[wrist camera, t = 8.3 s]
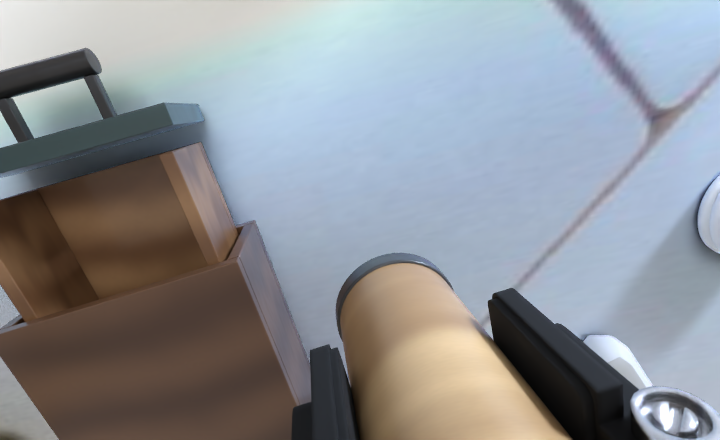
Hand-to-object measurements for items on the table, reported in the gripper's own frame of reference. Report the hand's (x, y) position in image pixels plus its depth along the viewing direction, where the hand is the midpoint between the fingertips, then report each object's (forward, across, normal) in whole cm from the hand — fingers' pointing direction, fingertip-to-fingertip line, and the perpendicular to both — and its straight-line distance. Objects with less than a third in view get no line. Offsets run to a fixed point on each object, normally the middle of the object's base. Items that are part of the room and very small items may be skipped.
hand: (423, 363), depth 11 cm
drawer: (+20, +15, -4) cm, 26 cm away
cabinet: (+21, +15, +8) cm, 27 cm away
